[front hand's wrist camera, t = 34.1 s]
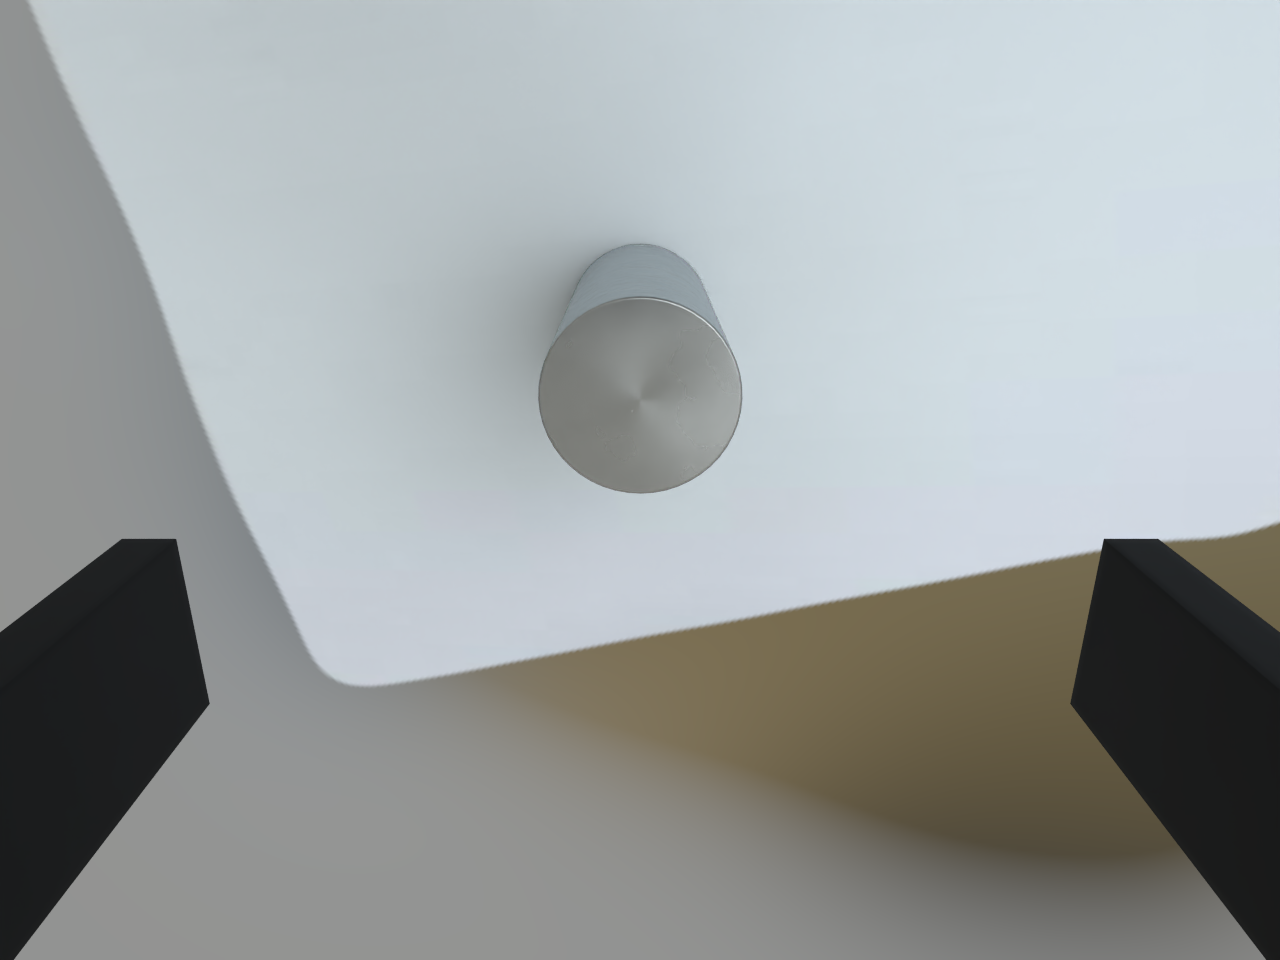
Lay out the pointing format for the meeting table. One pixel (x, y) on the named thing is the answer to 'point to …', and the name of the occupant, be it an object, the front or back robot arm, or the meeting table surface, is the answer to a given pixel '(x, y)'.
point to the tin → (640, 375)
